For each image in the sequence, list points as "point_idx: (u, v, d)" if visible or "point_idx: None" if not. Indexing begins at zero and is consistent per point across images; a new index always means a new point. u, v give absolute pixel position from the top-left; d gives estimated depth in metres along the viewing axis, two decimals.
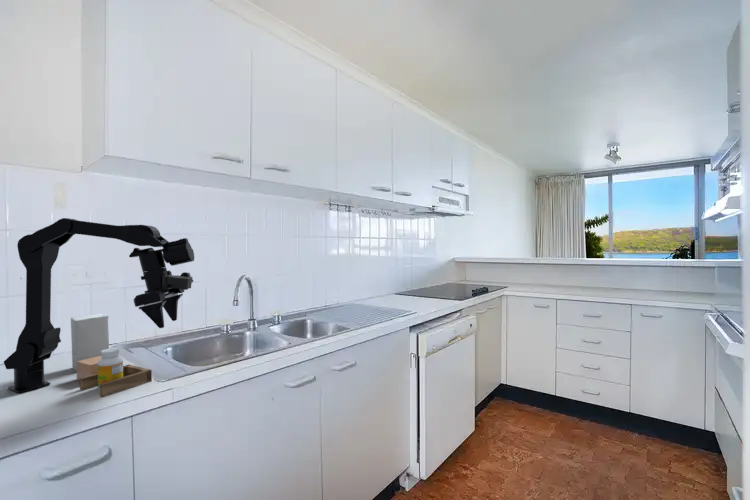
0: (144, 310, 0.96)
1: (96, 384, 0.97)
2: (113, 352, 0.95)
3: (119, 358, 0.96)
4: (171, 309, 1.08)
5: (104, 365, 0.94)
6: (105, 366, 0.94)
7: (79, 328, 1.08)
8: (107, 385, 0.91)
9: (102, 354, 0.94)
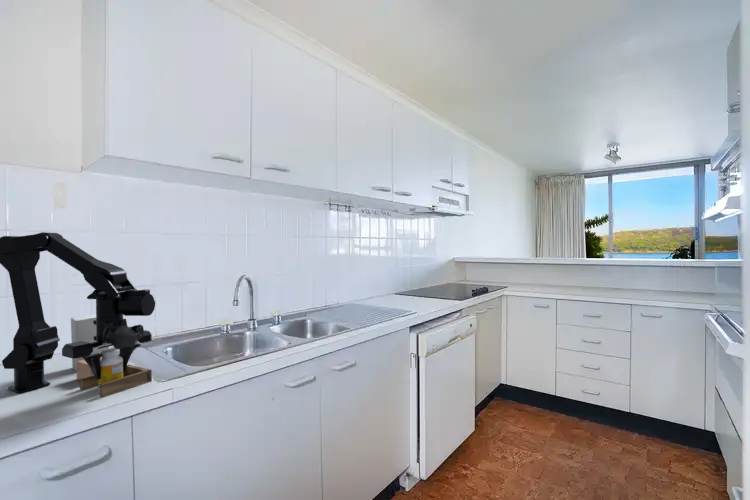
0: (84, 357, 0.93)
1: (96, 384, 0.97)
2: (113, 352, 0.95)
3: (119, 358, 0.96)
4: None
5: (104, 365, 0.94)
6: (105, 366, 0.94)
7: (79, 328, 1.08)
8: (107, 385, 0.91)
9: (102, 354, 0.94)
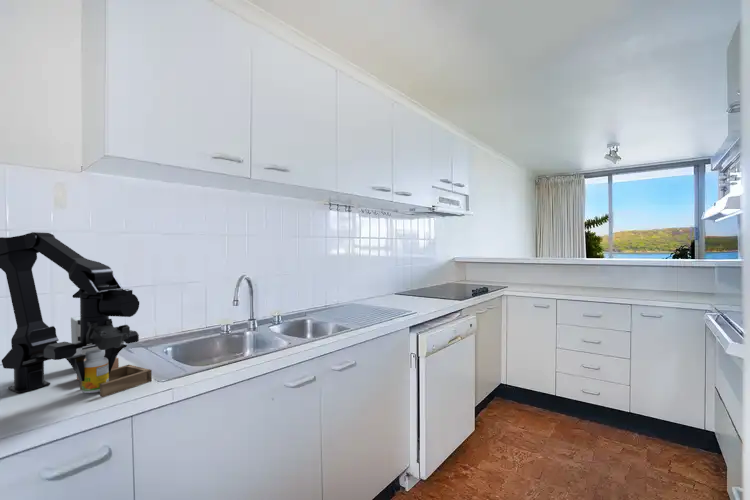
0: (67, 358, 0.90)
1: None
2: (98, 353, 0.92)
3: (104, 359, 0.93)
4: None
5: (88, 367, 0.90)
6: (89, 367, 0.91)
7: (79, 328, 1.08)
8: (107, 385, 0.91)
9: (86, 355, 0.91)
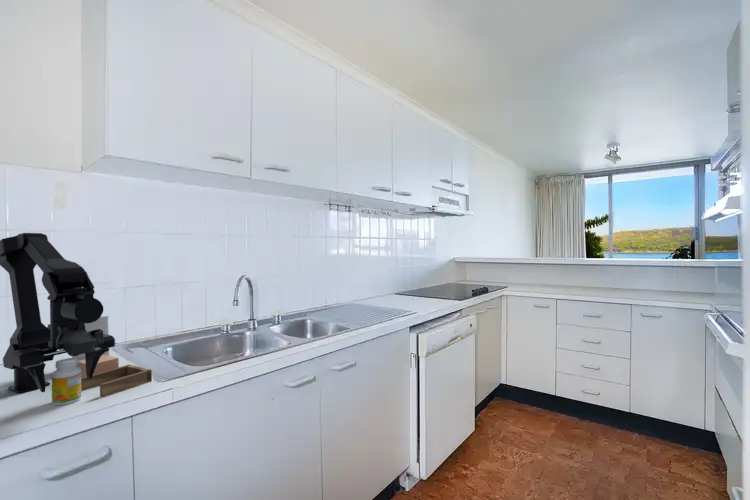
0: None
1: (96, 384, 0.97)
2: (69, 362, 0.87)
3: (76, 369, 0.88)
4: (89, 365, 0.92)
5: (58, 377, 0.85)
6: (59, 378, 0.85)
7: None
8: (107, 385, 0.91)
9: (56, 365, 0.86)
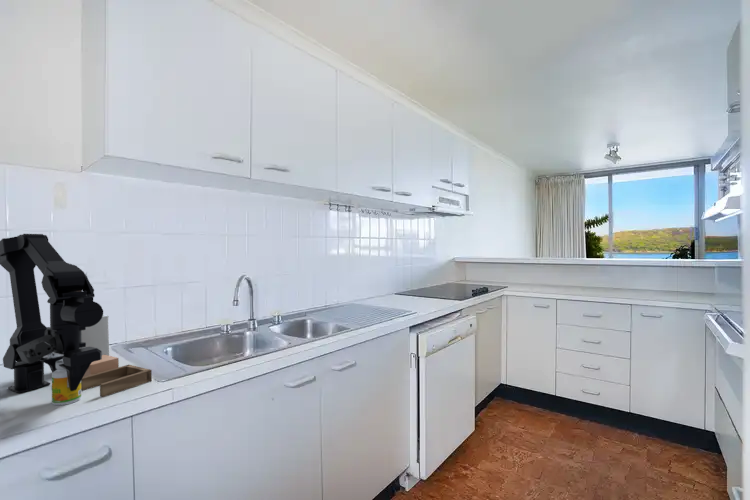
0: None
1: (96, 384, 0.97)
2: None
3: None
4: None
5: (58, 377, 0.85)
6: (59, 378, 0.85)
7: None
8: (107, 385, 0.91)
9: (56, 365, 0.86)
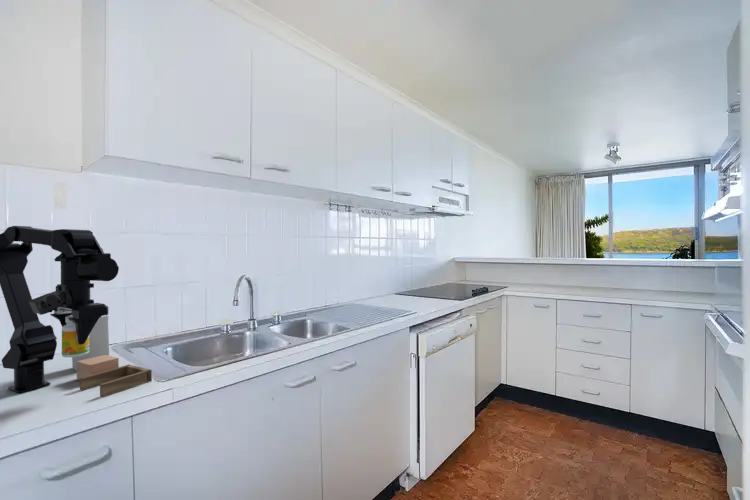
0: None
1: (96, 384, 0.97)
2: None
3: None
4: None
5: (68, 331, 0.89)
6: (69, 332, 0.89)
7: None
8: (107, 385, 0.91)
9: (66, 319, 0.90)
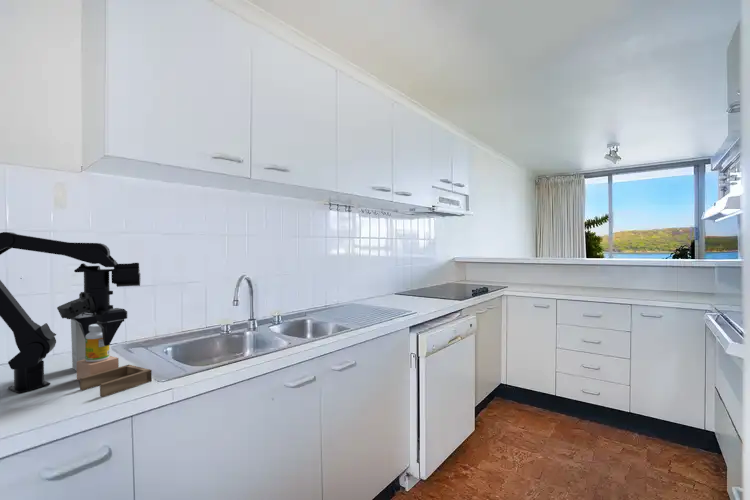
0: None
1: (96, 384, 0.97)
2: None
3: None
4: None
5: (91, 338, 1.01)
6: (92, 339, 1.01)
7: (79, 328, 1.08)
8: (107, 385, 0.91)
9: (89, 328, 1.02)
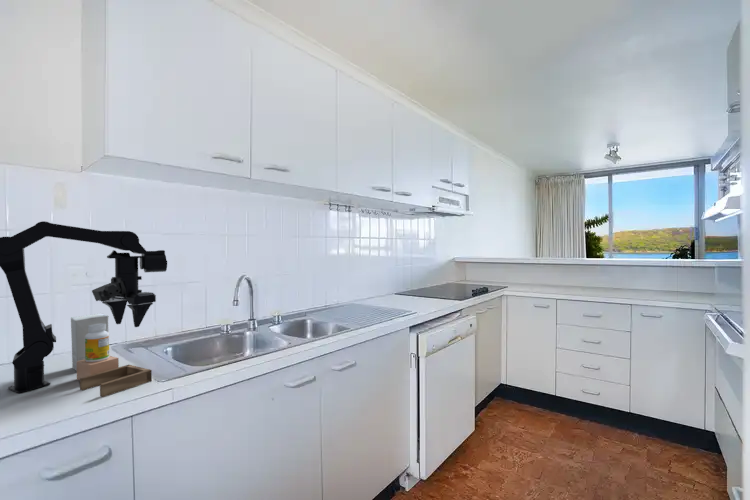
0: None
1: (96, 384, 0.97)
2: (99, 326, 1.02)
3: (105, 332, 1.04)
4: None
5: (91, 339, 1.01)
6: (92, 339, 1.01)
7: (79, 328, 1.08)
8: (107, 385, 0.91)
9: (89, 328, 1.01)
